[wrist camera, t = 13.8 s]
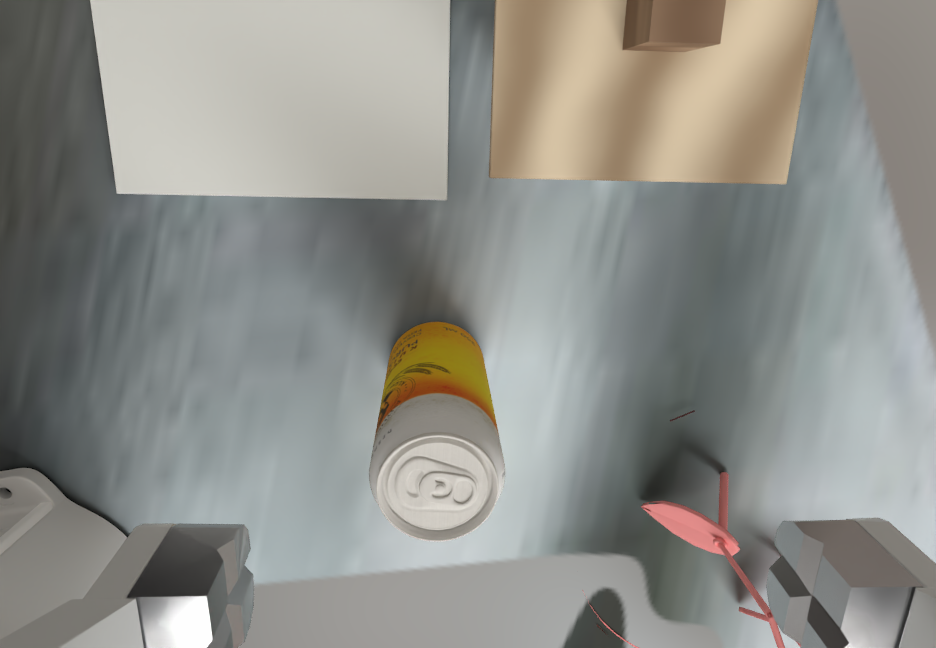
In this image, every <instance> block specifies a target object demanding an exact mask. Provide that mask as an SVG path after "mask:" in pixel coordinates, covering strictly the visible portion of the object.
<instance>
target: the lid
mask: <svg viewBox="0 0 936 648" xmlns="http://www.w3.org/2000/svg"><path fill="white" fill-rule="evenodd" d="M817 3H818V0H495V15H494V45H493V74H492V103H491V132H490V161H489V177H490V178H516V179H564V180H611V181H659V182H707V183H754V184H786V182H787V177H788V171H789V165H790V159H791V154H792V148H793V142H794V136H795V130H796V125H797V119H798V113H799V107H800V102H801V96H802V90H803V84H804V78H805V73H806V67H807V61H808V55H809V50H810V44H811V38H812V32H813V26H814V21H815V15H816V9H817Z"/></svg>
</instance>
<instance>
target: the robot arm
mask: <svg viewBox="0 0 936 648" xmlns="http://www.w3.org/2000/svg"><path fill="white" fill-rule="evenodd" d="M5 488H7V489H9V490H10V491H11V493H10V492H8V491H7V490H6V489H5ZM774 545H775V546H776V548H777V550H778V551H779V553H780V554H781V557H780V558H779V559H778V560H777V561H776V562H775V563H774V564H773V565H772V566H771V567H770V568H769V573H768V579H767V586H766V588H767V595H768V602H769V607H770V610H771V612H772V615H773V617H774V620H775V621H776V623H777V624H778V626H779V627H780V629H781V631H782V632H783V633H784V634H785V635H787V636H789V637H790V638H792V639H793V640H795V641H796V642H798V643H799V644H801V648H936V564H935V563H934V562H933V561H932V560H931V559H930V558H929V557H928V556H927V555H925V554H924V553H923V552H922V551H921V550H920V549H919V548H918V547H916V546H915V545H914V544H913V543H912V542H911V541H910V540H909V539H908V538H906V537H905V536H904V535H903V534H902V533H901V532H900V531H899V530H898V529H896V528H895V527H894V526H893V525H892V524H891V523H890V522H888V521H885V520H883V519H880V518H859V519H846V520H815V521H783V522H782V523H781V525H780V526H779V528H778V529H777V533H776V538H775V542H774ZM250 549H251V548H250V540H249V533H248V529H247V528H246V526H245V525H242V524H142V525H139V526H137V527H135V528H134V529H133V531H132V532H131V533H130V535H129V536H128V538H127V537H126V536H125V535H124V534H123V533H122V532H121V531H120V530H119V529H117V528H116V527H115V526H114V525H112V524H111V523H109V522H108V521H106V520H105V519H103V518H102V517H100V516H98V515H97V514H95V513H93V512H91V511H89V510H87V509H85V508H83V507H81V506H79V505H77V504H75V503H74V502H72V501H70V500H69V499H68V498H66V497H65V496H64V495H63V493H62V492H61V491H60V490H59V489H58V488H57V487H56V486H55V485H54V484H53V483H52V482H51V481H50V480H49V479H48V478H47V477H45V476H44V475H43V474H41V473H40V472H38V471H36V470H34V469H31V468H17V469H12V470H6V471H0V648H238V647H239V646H240V645H242V643H244V642H245V639H246V636H247V633H248V630H249V627H250V623H251V617H252V611H253V606H254V581H253V574H252V573H251V572H250V571H249V570H248V569H247V568H246V566H245V565H244V564H245V562H246V559H247V557H248V554H249V552H250Z"/></svg>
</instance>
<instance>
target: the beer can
mask: <svg viewBox="0 0 936 648" xmlns="http://www.w3.org/2000/svg"><path fill="white" fill-rule="evenodd" d="M369 481H370V487H371V490H372V493H373V496H374V498H375V500H376V502H377V503H378V505H379V506H380V508H381V511H382V512H383V514H384V516H385V517H386V518H387V520H388V521H389V522H390V523H391V524H392V525H393V526H394V527H395V528H397V529H398V530H400V531H401V532H403V533H404V534H406V535H408V536H411V537H413V538H416V539H420V540H425V541H448V540H453V539H457V538H459V537H462V536H465V535H467V534H469V533H470V532H472V531H474V530H475V529H477V528H478V527H479V526H480V525H481V524H482V523H483V522H485V520H486V519H487V518H488V517H489V515H490V514H491V512H492V511H493V509H494V506H495V504H496V502H497V501H498V499H499V497H500V495H501V493H502V490H503V487H504V482H505V464H504V459H503V454H502V449H501V444H500V439H499V434H498V429H497V424H496V419H495V414H494V409H493V404H492V399H491V394H490V389H489V384H488V379H487V374H486V369H485V364H484V359H483V355H482V352H481V349H480V347H479V345H478V344H477V342H476V341H475V339H474V338H473V337H472V336H471V335H470V334H469V333H468V332H466V331H465V330H463V329H462V328H460V327H458V326H456V325H453V324H450V323H445V322H428V323H424V324H420V325H417V326H415V327H413V328H411V329H410V330H408V331H407V332H405V333H404V334H403V335H402V336H401V337H400V338H399V339H398V341H397V342H396V343H395V345H394V347H393V349H392V351H391V354H390V358H389V363H388V368H387V374H386V379H385V385H384V390H383V396H382V401H381V407H380V412H379V418H378V423H377V429H376V435H375V440H374V446H373V451H372V457H371V462H370V469H369Z"/></svg>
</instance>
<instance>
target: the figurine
mask: <svg viewBox="0 0 936 648" xmlns="http://www.w3.org/2000/svg"><path fill="white" fill-rule="evenodd" d="M692 412H695V410H694V411H692ZM692 412H689V413H687V414H690V413H692ZM687 414H684V415H682V416H679V417H677V418H675V419H678V418H680V417H683V416H685V415H687ZM675 419H672V420H670V421H673V420H675ZM652 502H654V503H656V504H650V505H648V503H649V502H647V503H644V504H643V505H642V506H641V507H642V508H643V509H644V510H645V511H646V512H647V513H649V514H650V515H651V516H652V517H653V518H655V519H656V520H657V521H658V522H660V523H661V524H662V525H663V526H665V527H666V528H667V529H669V530H670V531H671V532H672V533H674V534H676V535H677V536H679V537H681V538H682V539H684V540H686V541H687V542H689V543H691V544H693V545H694V546H697V547H699V548H702V549H704V550H707V551H709V552H712V553H717V554H722V555H725V556H726V558H727V559H728V561H729V562H730V564H731V565H732V566H733V568H734V569H735V571H736V572H737V574H738V575H739V577H740V578H741V580H742V581H743V583H744V584H745V586H746V587H747V589H748V590H749V592H750V593H751V594H752V596H753V597H754V599H755V600H756V602H757V603H758V605H759V606H760V608H761V609H762V611H763V612H764V614H765V615H763V614H760V613H757V612H754V611H751V610H748V609H745V608H742V607H739V611H740V612H742V613H745V614H748V615H750V616H753V617H756V618H759V619H762V620H765V621H768V622H769V623H770V626H771V629H772V632H773V635H774V638H775V641H776V644H777V647H778V648H785V646H784V643H783V640H782V637H781V635H780V632H779V629H778V626H777V625H778V624H777V623H776V621H775V620H774V617H773V615H772V612H771V610H770V609H769V607H768V606H767V604H766V603H765V602H764V600H763V599H762V597H761V596H760V595H759V593H758V592H757V591H756V589H755V588H754V586H753V585H752V584H751V582H750V581H749V579H748V578H747V577H746V575H745V574H744V572H743V571H742V570H741V568H740V567H739V565H738V564H737V563H736V561H735V560H734V558H733V557H732V556H733V555H734V554H736V553H737V552H738V551H739V550H740V547H738V546H737V545H738V544H739V543H738V542H737V541H736V539H735V538H734V537H733V536H732V535H731V534H730V533H729V532H728V531H727V520H728V473H726V472H722V473H720V494H719V525H718V524H717V523H715V522H714V521H712V520H711V519H709V518H708V517H706V516H704V515H703V514H701V513H699V512H697V511H695V510H692V509H690V508H688V507H686V506H684V505H680V504H676V503H672V502H668V501H665V500H664V501H652ZM591 608H592V607H591ZM592 609H593V608H592ZM593 611H594V610H593ZM594 612H595V611H594ZM595 613H596V612H595ZM597 616H598V615H597ZM598 617H599V616H598ZM600 620H601V619H600ZM601 621H602V620H601ZM602 622H603V621H602ZM603 623H604V622H603ZM604 624H605V623H604ZM605 625H606V624H605ZM597 626H598V625H597ZM606 626H607V625H606ZM598 627H599V626H598ZM607 627H608V626H607ZM599 628H600V627H599ZM608 628H609V627H608ZM600 629H601V628H600ZM609 629H610V628H609ZM601 630H602V629H601ZM610 630H611V629H610ZM602 631H603V630H602ZM611 631H612V630H611ZM603 632H604V631H603ZM612 632H613V633H615V632H614V631H612ZM604 633H605V632H604ZM605 634H606V633H605ZM615 634H616V633H615ZM616 635H617V634H616ZM617 636H618V635H617ZM618 637H620V636H618ZM620 638H621V639H623V638H622V637H620ZM623 640H624V641H626V640H625V639H623ZM626 642H627V643H629V642H628V641H626ZM797 643H798V642H797ZM629 644H631V643H629ZM631 645H632V644H631ZM798 645H799V646H800V647H801V644H799V643H798ZM632 646H634V645H632ZM634 647H636V646H634ZM636 648H639V647H636Z"/></svg>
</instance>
